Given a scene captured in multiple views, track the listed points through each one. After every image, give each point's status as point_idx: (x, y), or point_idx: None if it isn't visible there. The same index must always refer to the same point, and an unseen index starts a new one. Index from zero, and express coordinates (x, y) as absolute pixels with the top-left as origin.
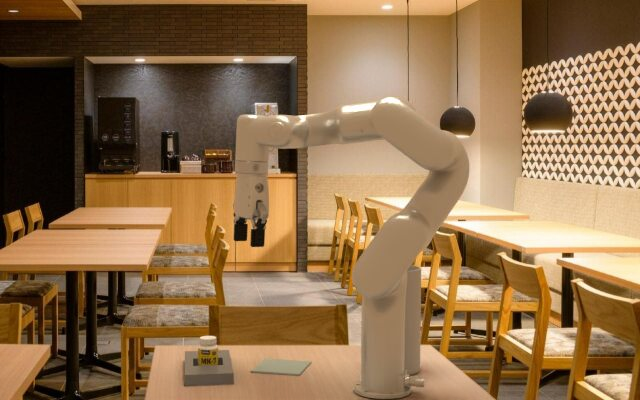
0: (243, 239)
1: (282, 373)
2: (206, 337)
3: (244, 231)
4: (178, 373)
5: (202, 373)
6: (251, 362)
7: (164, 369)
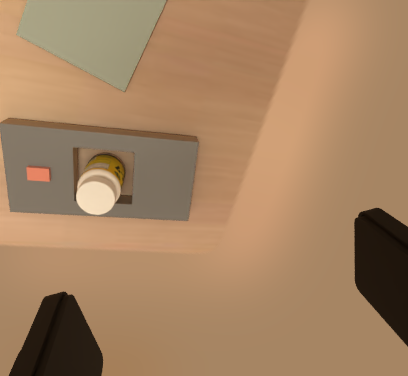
0: (81, 318)
1: (154, 26)
2: (95, 201)
3: (61, 372)
4: None
5: (187, 194)
6: (37, 72)
7: (76, 236)
